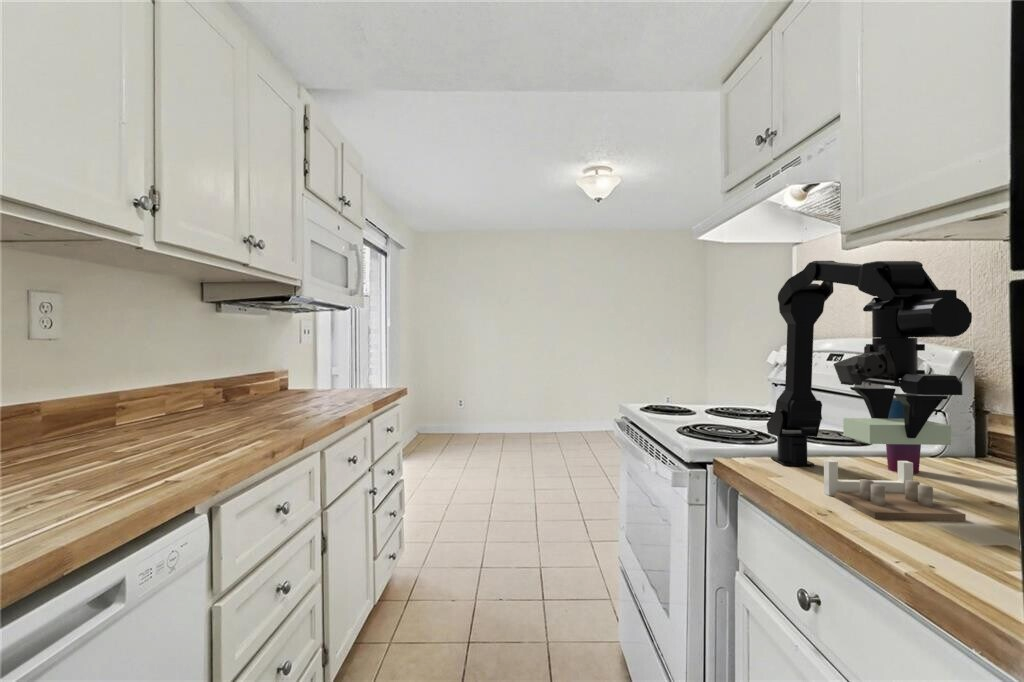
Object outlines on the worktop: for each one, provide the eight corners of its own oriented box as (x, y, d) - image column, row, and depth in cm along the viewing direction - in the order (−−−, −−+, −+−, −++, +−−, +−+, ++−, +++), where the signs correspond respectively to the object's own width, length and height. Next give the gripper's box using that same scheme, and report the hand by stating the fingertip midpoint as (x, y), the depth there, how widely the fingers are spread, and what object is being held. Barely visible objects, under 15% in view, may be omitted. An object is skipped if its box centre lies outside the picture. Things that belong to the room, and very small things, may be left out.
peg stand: (834, 497, 82) (834, 474, 82) (913, 498, 81) (913, 475, 81) (875, 518, 72) (874, 492, 72) (965, 520, 71) (965, 494, 71)
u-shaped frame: (824, 493, 84) (823, 459, 84) (906, 494, 83) (906, 460, 83) (829, 495, 83) (828, 461, 83) (913, 497, 82) (913, 462, 82)
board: (917, 436, 79) (917, 418, 79) (951, 444, 73) (951, 425, 73) (843, 435, 80) (843, 418, 80) (869, 443, 74) (869, 424, 74)
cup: (932, 475, 95) (932, 401, 95) (894, 473, 96) (893, 400, 96) (911, 467, 102) (911, 397, 102) (875, 465, 103) (875, 397, 103)
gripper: (810, 338, 86) (810, 423, 86) (883, 337, 68) (884, 445, 68) (874, 338, 86) (874, 424, 86) (965, 337, 67) (966, 446, 67)
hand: (894, 433), depth 76 cm, fingers closed on board, 6 cm apart
